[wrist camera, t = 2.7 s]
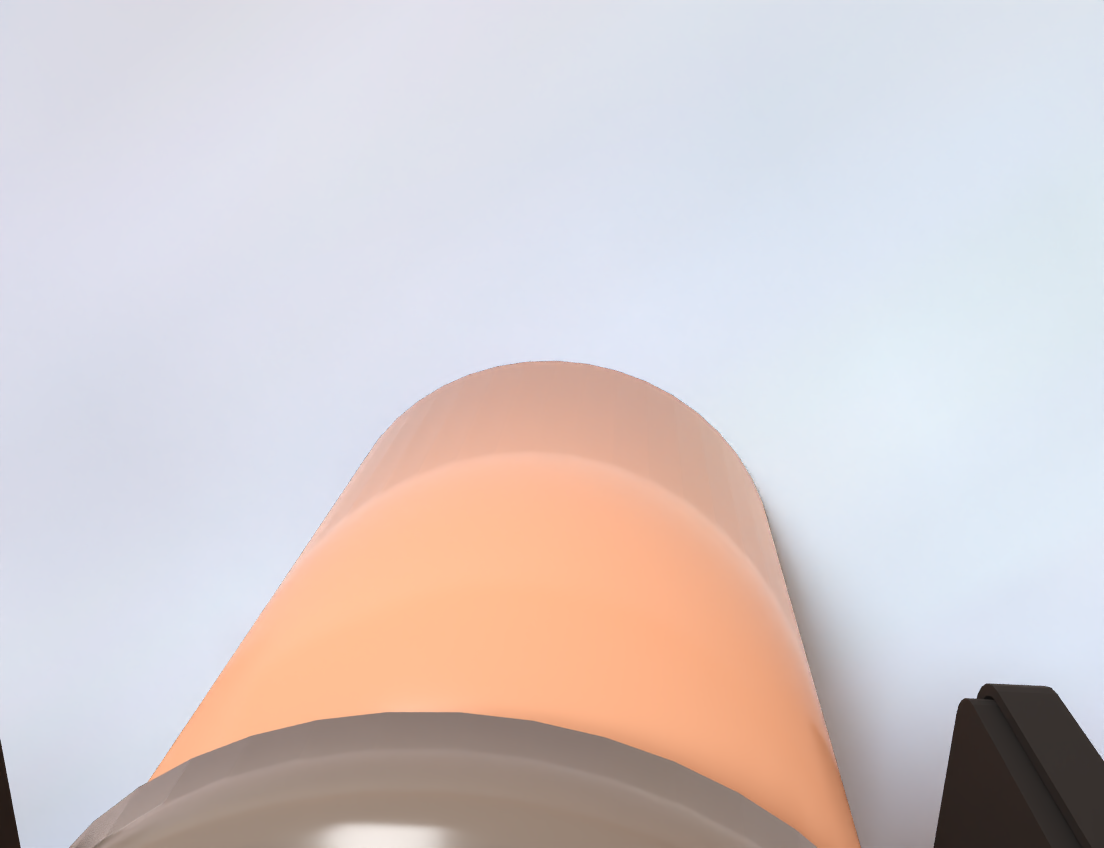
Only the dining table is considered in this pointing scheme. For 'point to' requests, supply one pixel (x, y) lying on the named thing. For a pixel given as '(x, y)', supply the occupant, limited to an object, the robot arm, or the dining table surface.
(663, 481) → the jar
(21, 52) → the dining table surface
